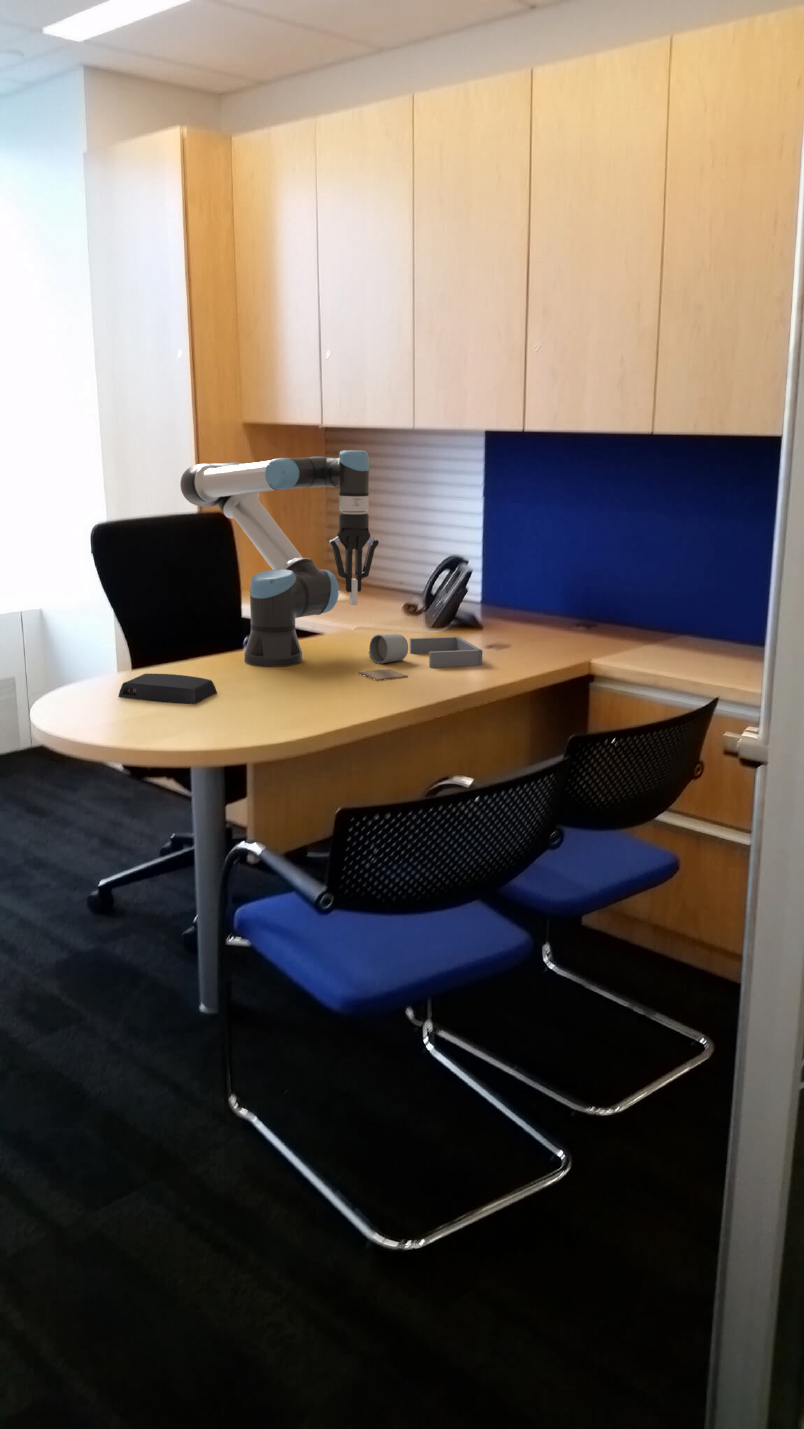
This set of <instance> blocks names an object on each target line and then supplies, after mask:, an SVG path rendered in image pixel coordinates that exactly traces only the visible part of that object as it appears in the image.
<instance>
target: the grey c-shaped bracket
mask: <svg viewBox="0 0 804 1429" xmlns="http://www.w3.org/2000/svg"><path fill="white" fill-rule="evenodd" d="M409 653H410V654H427V653H428V654H429V657H428V658H429V660H428V666H429V667H428V668H451V667H453V668H454V667H476V666H479V667H480V666H483V650H482V649H481V648H479V647H477V646H476V645H474V644H472V643H470V642H469V641H467V640H465V639H463V638H462V637H461V636H440V637H439V636H437V637H436V636H435V637H411V638H409Z"/></svg>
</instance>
